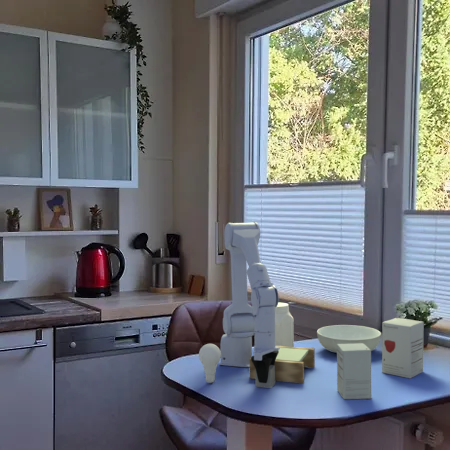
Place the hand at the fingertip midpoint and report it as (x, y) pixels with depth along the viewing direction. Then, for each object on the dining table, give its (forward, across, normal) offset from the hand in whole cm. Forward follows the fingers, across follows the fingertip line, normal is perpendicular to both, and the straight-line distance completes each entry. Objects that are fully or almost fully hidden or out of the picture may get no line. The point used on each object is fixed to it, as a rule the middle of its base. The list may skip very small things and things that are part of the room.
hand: (265, 379), depth 161 cm
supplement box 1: (+2, -1, -24) cm, 24 cm away
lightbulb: (+2, -3, +15) cm, 15 cm away
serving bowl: (+2, +42, -17) cm, 45 cm away
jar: (+2, +40, +7) cm, 41 cm away
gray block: (+1, 0, 0) cm, 1 cm away
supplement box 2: (+2, +23, -35) cm, 42 cm away
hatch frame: (+1, +13, -2) cm, 13 cm away
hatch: (-3, +13, -2) cm, 14 cm away
